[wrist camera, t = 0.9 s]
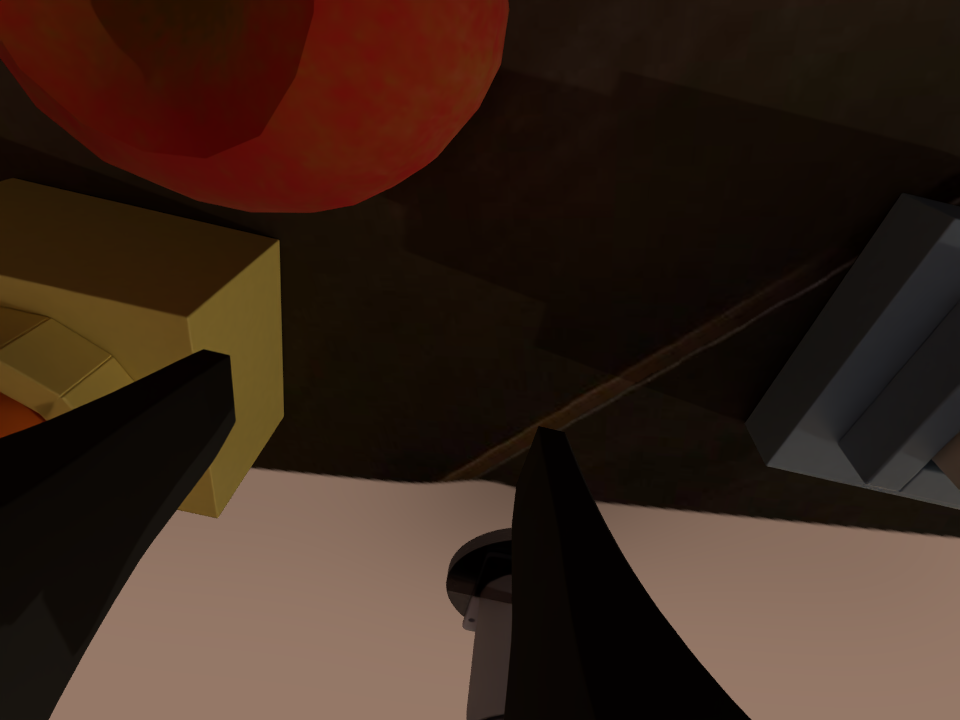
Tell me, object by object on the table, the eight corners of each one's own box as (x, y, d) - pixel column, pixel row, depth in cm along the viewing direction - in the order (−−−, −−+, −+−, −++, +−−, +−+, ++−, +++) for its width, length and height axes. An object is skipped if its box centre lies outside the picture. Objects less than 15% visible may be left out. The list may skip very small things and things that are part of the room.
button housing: (284, 416, 24) (187, 566, 17) (74, 369, 24) (-106, 505, 17) (279, 239, 19) (140, 357, 12) (12, 177, 19) (-278, 263, 12)
